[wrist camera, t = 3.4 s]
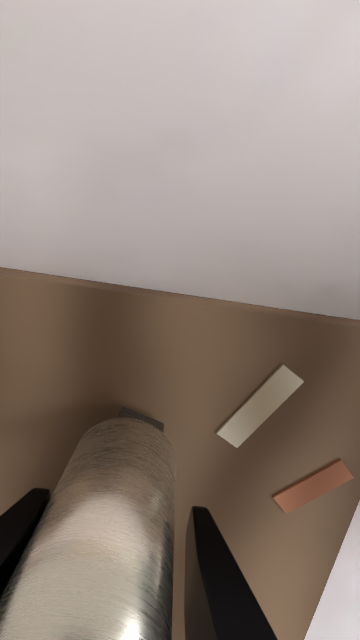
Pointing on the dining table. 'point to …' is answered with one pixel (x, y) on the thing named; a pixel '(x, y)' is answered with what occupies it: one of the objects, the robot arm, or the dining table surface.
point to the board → (195, 418)
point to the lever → (101, 542)
